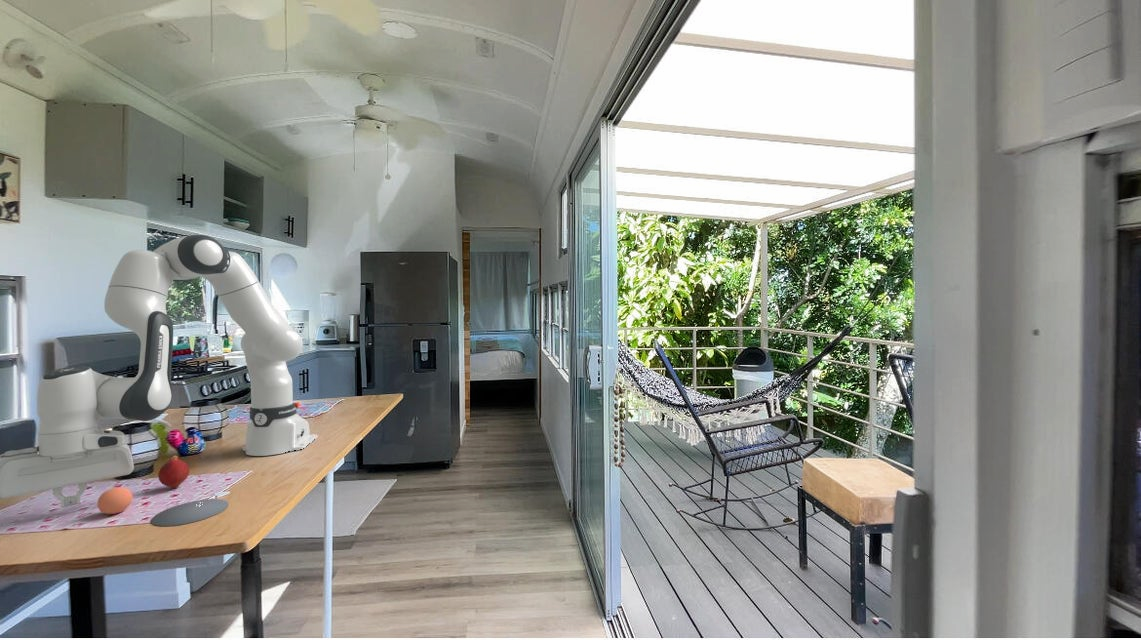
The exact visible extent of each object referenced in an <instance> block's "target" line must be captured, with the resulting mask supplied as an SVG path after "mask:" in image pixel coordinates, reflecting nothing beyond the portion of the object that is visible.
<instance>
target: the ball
mask: <svg viewBox="0 0 1141 640" xmlns="http://www.w3.org/2000/svg"><path fill="white" fill-rule="evenodd" d="M132 502H133V493H132V491H131V490H130V489H128V488H126V487H122V486H118V487H116V486H115V487H112V488H109V489H107V490H105V491H104V492H103V493H101V495H100V496H99V497H98V499H97V508H98V511H100V512H101V513H103V514H107V515H115V514H118V513H121V512H122V511H125V510H127V508H128V507H129V506H130V505H131V504H132Z"/></svg>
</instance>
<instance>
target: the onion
mask: <svg viewBox="0 0 1141 640" xmlns="http://www.w3.org/2000/svg"><path fill="white" fill-rule="evenodd" d="M178 458H179V457H178V456H177V455H173V456H172V457H171V458H170V459H169V460H168V461H167V462H166V463H164V464H163V465H162V466H161V468H160V469H159V472H158V480H159V482H160V483H161V484H162V485H163V486H166V487H168V488H171V489H177V488H178V487H179V486H180V485H181V484H182V483H183V482H185V481H186V479H188V476H189V475H190V466H189V465H188V464H187V463H186V462H185V461H183V460H181V459H178Z"/></svg>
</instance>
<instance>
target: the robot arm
mask: <svg viewBox="0 0 1141 640" xmlns="http://www.w3.org/2000/svg"><path fill="white" fill-rule="evenodd" d="M200 277H201V278H203V279H205V280H207V282H209V283H210V284H211V286H212V288H213V290H214V291H215V294H216V295H217V297H218V298H219V300H220V302H221V303H222V305H223V306H224V309H225V310H226V312H227V314H228V315H229V317H230V318H231V319H232V321H233V322H235V323H236V324H237V325H238V326H239V327H240V328H241V329H242V330H243V332H244V334H243V335H242V337H241V338H240V348H241V350H242V351H243V354H244V358H245V362H246V363H245V364H246V368H247V372H248V375H249V376H248V377H249V381H250V400H251V401H250V402H251V406H250V407H249V411H248V412H249V414H248V415H249V419H250V422H249V423H248V424H247V426H246V434H245V435H246V436H245V437H246V438H245V445H244V446H242V451H243V452H245V454H246V455H248V456H250V457H251V456H252V457H254V456H255V457H267V456H273V455H275V456H276V455H281V454H285V452H286V453H288V451H290V452H295V451H294V450H296V451H301V450H300V449H302V450H304V449H305V448H307V447H308V446H309V445H310V444H311V443H313V442H314V441H315V440H316V439H318V438H319V435H318V434H317V433H310V432H311V431H310V424H309V422H308V420H306V419H305V418H303V417H302V416H300V415H299V414H298V412H297V409H300V408H301V406H302V403H301V402H300V401H297V402H296V401H293V400H294V396H293V395H294V394H293V390H294V389H293V387H294V386H293V378H292V376H291V374H290V372H289V369H288V366H287V362H290V361H292V360H294V359H295V358H297V357H298V356H299V355H301V353H302V351H303V347H304V342H303V339H302V337H301V336H300V333H298V332H296V331H295V330H294V329H292V327H291V325H289V323H288V322H287V321H286V319H285V318H284V317H283V315H281V313H280V312H279V311H278V310H277V308H275V305H273V303H272V301H271V300H270V299H269V296H268V295H267V293H266V291H265V289H264V287H263V286H262V284H261V283H260V281H259V279H258V277H257V275H256V274H255V272H254V270H253V269H252V268H251V266H250V265H249V264H248V263H247V261H246V260H245V259H244V258H243V257H242V256H241V255H240V254H239V253H237V252H235V251H230V250H228V249H227V248H225V247H224V245H222V243H221V242H220V241H219V240H217V239H215V238H214V237H211V236H209V235H205V234H191V235H188V236H181V237H177V238H174V239H172V240H169V241H168V242H165V243H162V244H160V245H158V246H156V247H154V248H153V249H151V250H146V249H145V250H144V249H137V250H135V249H134V250H130V251H128V252H126V253H124V254H123V255H122V257H121V259H120V260H119V262H118V264H117V265H116V267H115V269H114V271H113V273H112V276H111V278H110V280H109V284H108V288H107V289H106V294H105V297H104V302H103V303H104V304H103V305H104V308H103V309H104V312H105V314H106V315H107V317H108V318H109V319H110V320H112V321H113V322H114V323H115V324H117V325H119V326H120V327H123V328H125V329H128V330H129V331H131V332H133V333H134V334H136V335H137V337H138V339H139V341H140V353H139V363H138V373H137V374H136V375H135V377H120V376H119V377H118V376H112V375H105V374H102V373H99V372H97V371H95V370H93V369H92V368H91V367H90V366H83V365H80V366H79V365H77V366H70V367H61V368H57V369H53V370H51V371H49V372H47V373H45V374H44V375H42V377H41V378H40V381H39V382H38V383H39V384H38V388H37V397H36V409H37V410H36V411H37V412H36V413H37V415H38V418H39V421H40V424H39V427H38V429H37V446H34V447H33V446H32V447H28V448H27V447H26V448H23V449H18V450H8V451H5V452H4V453H2V454H0V498H1V499H7V498H13V497H18V496H23V495H28V494H34V493H39V492H44V491H50V490H52V495H53V496H54V497H55V498H57V499H58V500H59V501H60V508H62V509H63V508H66V507H72V506H76V505H81V496H83V494H84V492H85V491H86V490H87V488H88V483H90V482H91V483H92V482H97V481H103V480H107V479H112V478H117V477H122V476H123V477H124V476H128V475H130V474H131V473H133V471H134V469H135V467H134V466H135V464H134V460H133V455H132V451H131V449H130V446H129V445H128V444H127V443H126V435H125V433H124V432H122V431H120V430H110V429H99V428H98V427H99V425H98V420H99V419H110V420H112V419H113V420H115V419H116V420H132V421H141V422H148V421H152V420H155V419H157V418H158V417H160V416H162V415H163V414H164V413H165V412H166V411H167V410H168V409H169V407H170V406H171V405H172V402H173V397H174V392H173V391H174V390H173V386H172V378H171V377H172V362H173V361H172V360H173V350H174V349H173V348H174V347H173V346H174V323H173V320H172V318H171V317H170V315H168V313H167V300H168V296H169V290H170V287H171V285H172V283H173V282H181V281H185V280H186V281H187V280H194V279H198V278H200ZM314 439H315V440H314ZM313 440H314V441H313ZM312 441H313V442H312ZM309 443H310V444H309ZM308 444H309V445H308ZM307 445H308V446H307ZM306 446H307V447H306ZM303 448H304V449H303ZM76 485H77V488H78V489H79V490H78V491H77V492H76V494H73V495H69V496H65V495H64V494H63V491H64V490H63V488H65V487H70V486H76Z"/></svg>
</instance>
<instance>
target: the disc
mask: <svg viewBox="0 0 1141 640" xmlns="http://www.w3.org/2000/svg"><path fill="white" fill-rule="evenodd" d="M199 502H201V504H200V503H199ZM202 502H203V503H202ZM196 504H197V505H199V504H200V505H201V506H200V507H199V506H197V507H196ZM202 504H203V505H202ZM228 506H229V502H228V501H227V500H226V499H219V498H210V499H209V498H208V499H200V500H195V501H189V502H185V503H181V504H177V505H175V506H172V507H169V508H166V509H164V510H162V511H160V512H158V513H157V514H155V515H154V516H153V517H152V518H151V523H152V525H154V526H158V527H175V526H182V525H189V524H191V523H196V522H199V521H203V520H206V519H210V518H213V517H214V516H216V515H219V514H220V513H222V512H224V511H225V510H226V509H227V508H228Z"/></svg>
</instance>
